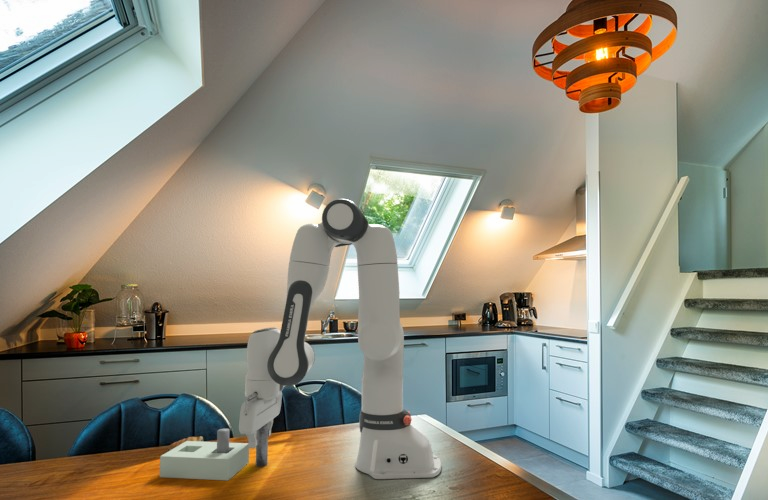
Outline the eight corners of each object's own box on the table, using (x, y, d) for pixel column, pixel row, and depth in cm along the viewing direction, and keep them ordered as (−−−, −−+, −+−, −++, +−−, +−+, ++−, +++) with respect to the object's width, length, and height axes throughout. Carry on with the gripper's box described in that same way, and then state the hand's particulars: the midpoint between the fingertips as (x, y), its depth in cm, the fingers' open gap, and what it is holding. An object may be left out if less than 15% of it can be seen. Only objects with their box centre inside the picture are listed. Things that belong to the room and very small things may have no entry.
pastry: (166, 456, 130) (166, 442, 130) (170, 448, 137) (171, 435, 137) (201, 453, 132) (202, 439, 133) (204, 446, 139) (204, 432, 139)
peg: (269, 462, 124) (269, 424, 125) (264, 466, 121) (265, 427, 122) (258, 462, 125) (259, 424, 125) (253, 466, 122) (254, 427, 123)
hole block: (248, 462, 124) (249, 424, 125) (228, 480, 113) (229, 438, 113) (186, 459, 127) (187, 422, 128) (159, 477, 115) (161, 435, 116)
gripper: (257, 397, 114) (255, 455, 113) (285, 381, 134) (284, 431, 133) (233, 396, 115) (231, 454, 114) (265, 381, 135) (263, 429, 134)
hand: (260, 441), depth 123 cm, fingers open, 8 cm apart
